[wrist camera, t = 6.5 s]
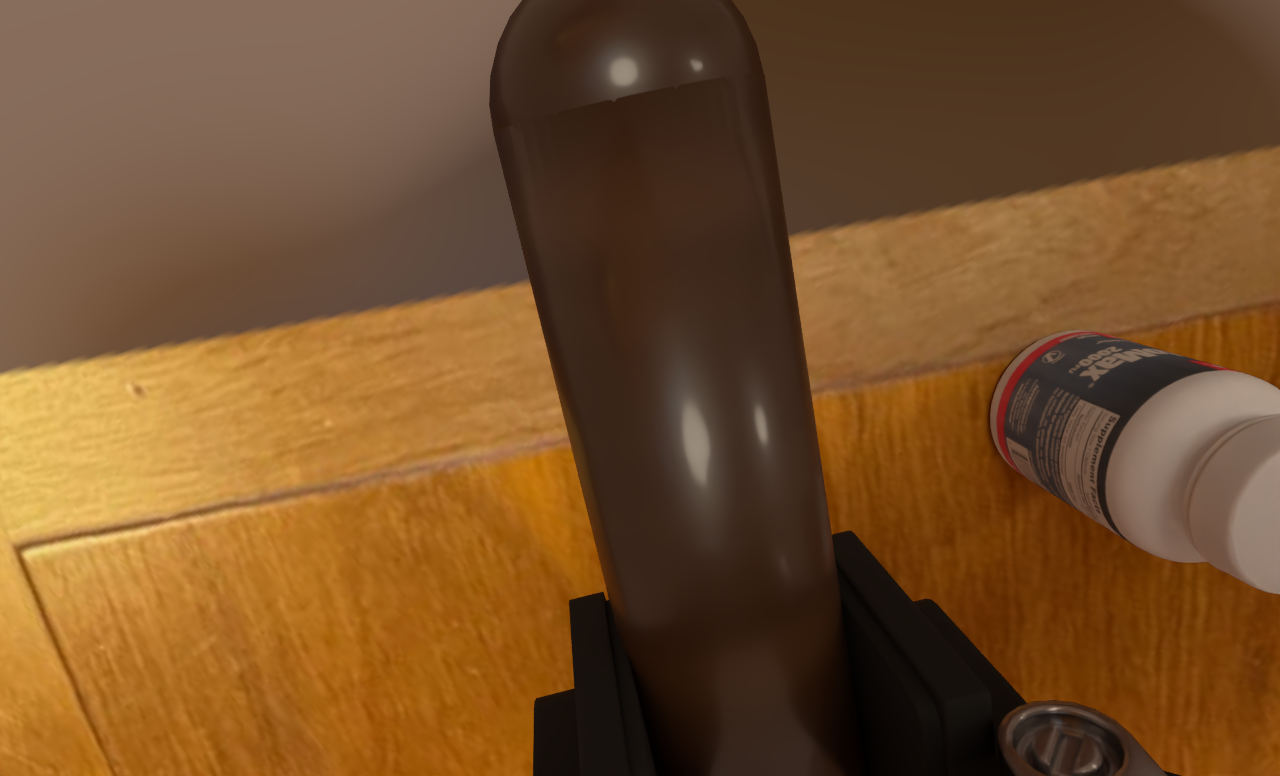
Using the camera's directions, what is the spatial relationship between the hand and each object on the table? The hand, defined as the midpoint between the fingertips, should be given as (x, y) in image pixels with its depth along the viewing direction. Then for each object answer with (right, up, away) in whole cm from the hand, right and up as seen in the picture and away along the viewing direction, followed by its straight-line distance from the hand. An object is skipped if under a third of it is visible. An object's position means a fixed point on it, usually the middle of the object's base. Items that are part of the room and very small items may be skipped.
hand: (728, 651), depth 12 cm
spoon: (0, 0, 0) cm, 0 cm away
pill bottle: (+13, +4, +14) cm, 19 cm away
